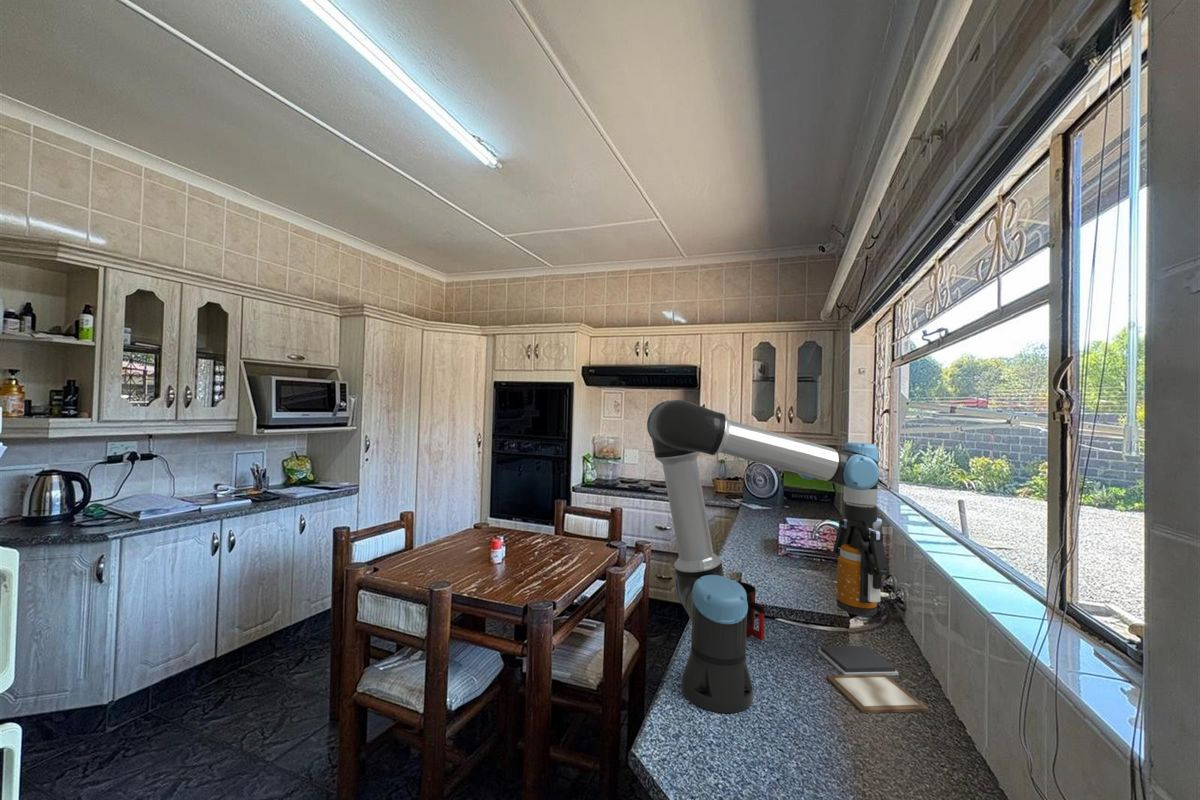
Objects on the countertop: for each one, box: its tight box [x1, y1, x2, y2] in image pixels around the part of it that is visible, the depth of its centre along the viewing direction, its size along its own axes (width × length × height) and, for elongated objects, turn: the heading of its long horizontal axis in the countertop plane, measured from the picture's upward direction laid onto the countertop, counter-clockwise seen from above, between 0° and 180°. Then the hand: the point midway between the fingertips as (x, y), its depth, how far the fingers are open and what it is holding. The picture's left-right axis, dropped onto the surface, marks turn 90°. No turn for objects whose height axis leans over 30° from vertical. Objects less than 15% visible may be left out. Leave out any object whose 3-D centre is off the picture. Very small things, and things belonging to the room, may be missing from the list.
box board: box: [825, 674, 930, 714], centre depth 106 cm, size 15×13×1 cm
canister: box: [836, 535, 878, 617], centre depth 120 cm, size 9×11×20 cm
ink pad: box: [817, 645, 900, 676], centre depth 120 cm, size 14×12×2 cm
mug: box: [735, 580, 766, 642], centre depth 135 cm, size 10×14×12 cm
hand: (858, 592), depth 120 cm, fingers closed on canister, 11 cm apart
